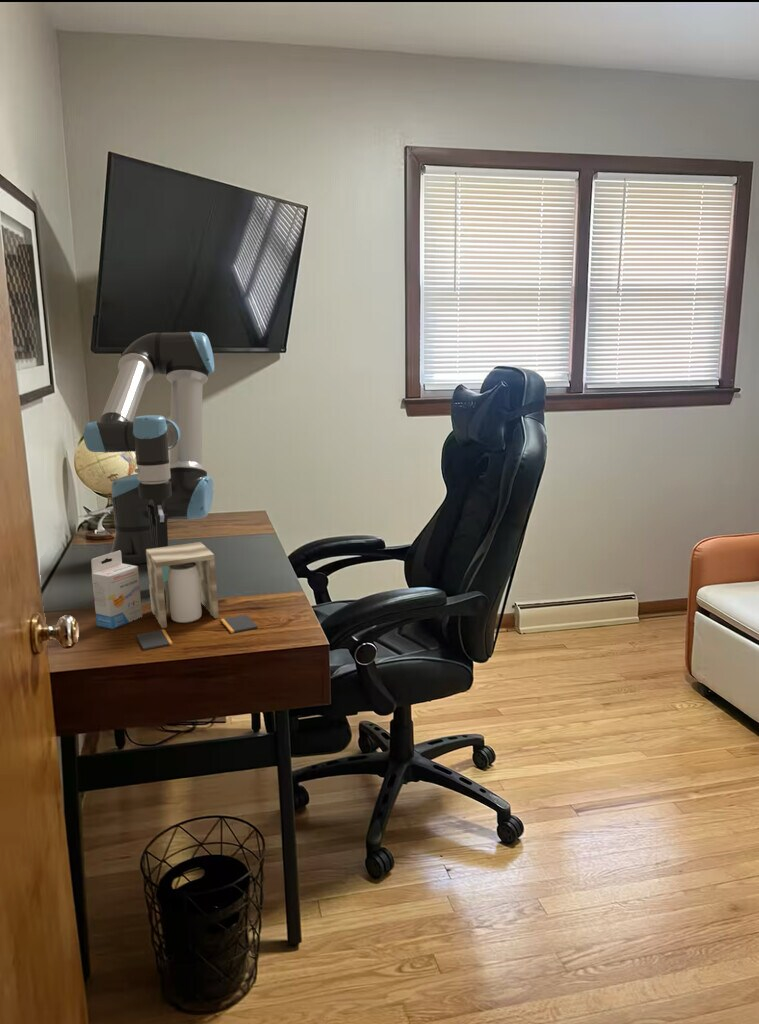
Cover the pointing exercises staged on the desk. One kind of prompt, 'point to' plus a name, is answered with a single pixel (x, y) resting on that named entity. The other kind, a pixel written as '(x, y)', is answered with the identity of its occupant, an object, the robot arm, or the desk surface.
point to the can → (184, 592)
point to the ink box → (115, 591)
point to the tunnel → (174, 557)
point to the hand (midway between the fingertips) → (162, 576)
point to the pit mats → (163, 639)
